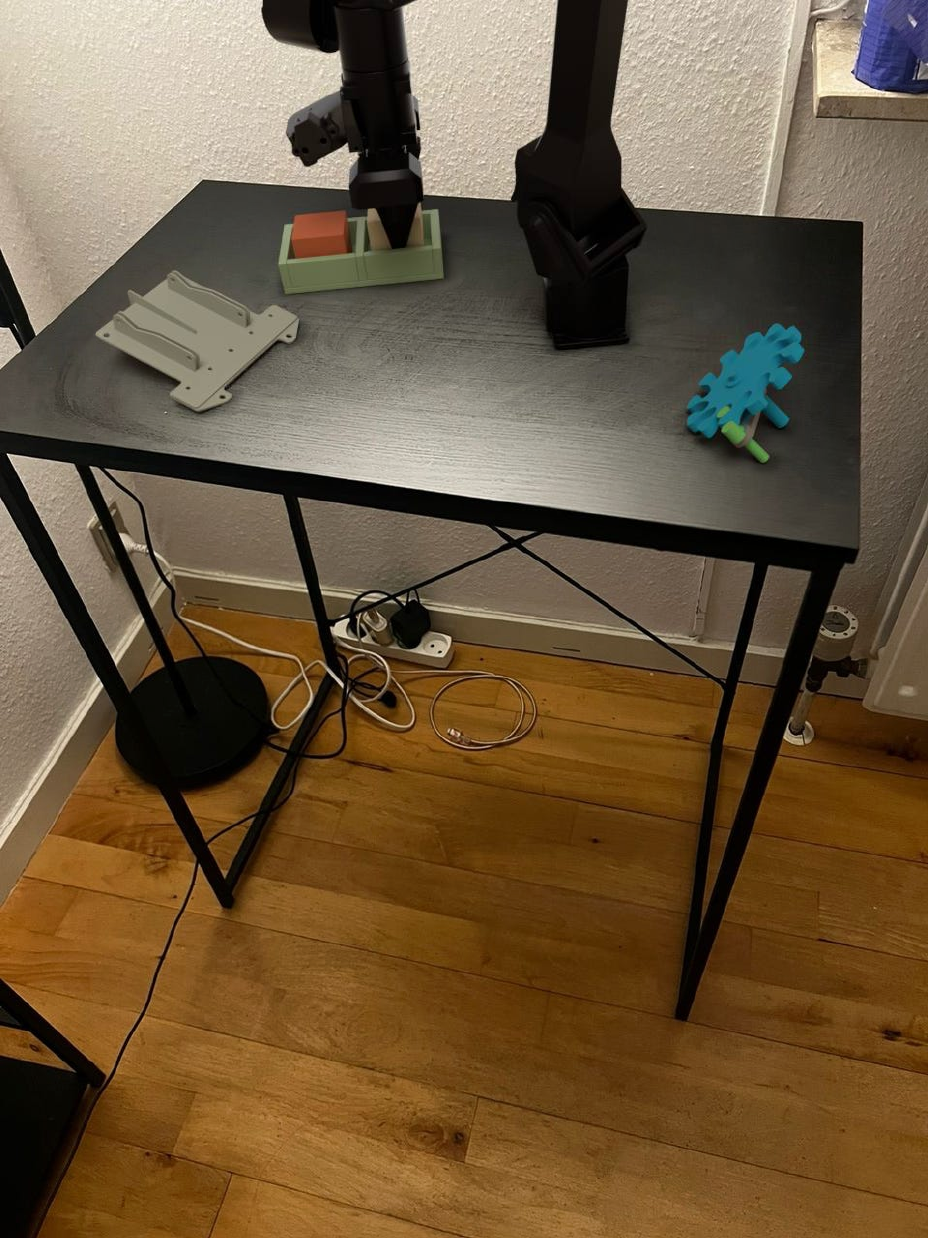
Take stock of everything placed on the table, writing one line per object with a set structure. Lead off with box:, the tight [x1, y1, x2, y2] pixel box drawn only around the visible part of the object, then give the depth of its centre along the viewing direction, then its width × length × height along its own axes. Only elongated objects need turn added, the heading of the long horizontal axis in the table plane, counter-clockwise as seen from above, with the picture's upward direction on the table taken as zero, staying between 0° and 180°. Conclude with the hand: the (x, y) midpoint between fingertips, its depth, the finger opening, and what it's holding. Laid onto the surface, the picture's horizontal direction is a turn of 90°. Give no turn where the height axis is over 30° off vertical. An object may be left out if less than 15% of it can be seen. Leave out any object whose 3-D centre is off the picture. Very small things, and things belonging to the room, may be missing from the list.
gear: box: [686, 323, 805, 464], centre depth 70 cm, size 11×6×10 cm
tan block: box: [367, 202, 425, 251], centre depth 91 cm, size 5×5×4 cm
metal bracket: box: [95, 270, 300, 413], centre depth 84 cm, size 14×6×15 cm
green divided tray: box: [277, 208, 445, 295], centre depth 92 cm, size 15×8×3 cm, turn 93°
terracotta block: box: [291, 209, 352, 259], centre depth 91 cm, size 5×5×4 cm
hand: (399, 238), depth 91 cm, fingers closed on tan block, 5 cm apart
